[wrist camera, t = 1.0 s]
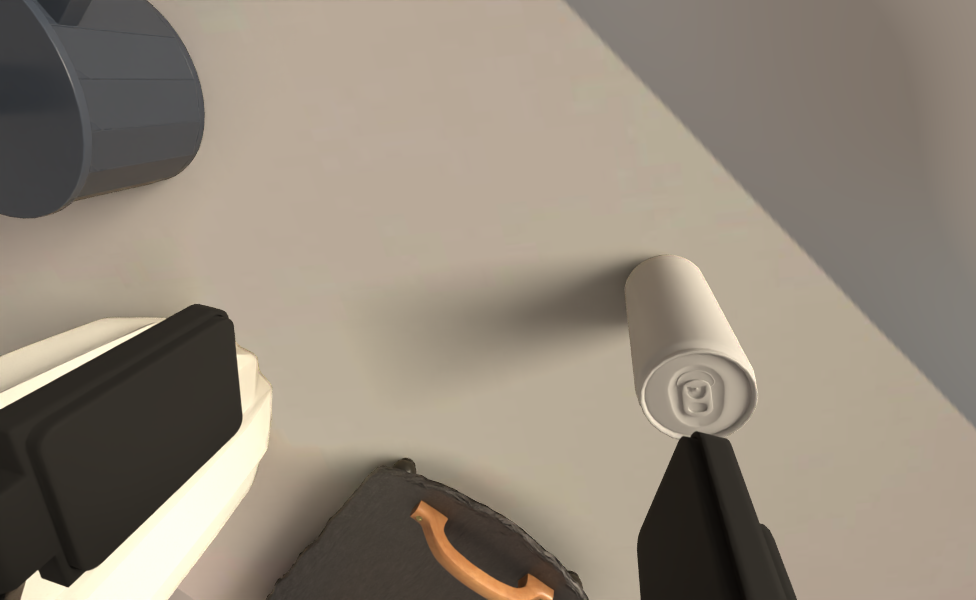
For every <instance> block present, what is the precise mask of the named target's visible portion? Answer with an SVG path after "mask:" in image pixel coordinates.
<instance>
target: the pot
mask: <svg viewBox="0 0 976 600" xmlns="http://www.w3.org/2000/svg"><path fill="white" fill-rule="evenodd" d="M33 1H34V2H35V4H36V5H37V6H38V7H39V8H40V10H41V11H42V12H43V14H44V15H45V17H46V18H47V20H48V21H49V23H50V24H51V25H52V27H53V28H54V30H55V32H56V33H57V35H58V37H59V39H60V40H61V42H62V44H63V45H64V47H65V49H66V51H67V53H68V55H69V57H70V59H71V61H72V63H73V66H74V68H75V70H76V73H77V75H78V78H79V80H80V83H81V86H82V88H83V92H84V95H85V99H86V102H87V106H88V111H89V116H90V122H91V129H92V142H93V143H92V160H91V165H90V171H89V174H88V177H87V180H86V183H85V185H84V187H83V189H82V190H81V192H80V194H79V195H78V196H77V197H76V199H75V200H74V201H77V200H81V199H86V198H90V197H95V196H99V195H104V194H108V193H112V192H117V191H121V190H126V189H130V188H135V187H139V186H143V185H148V184H152V183H155V182H158V181H161V180H165V179H169V178H171V177H173V176H176V175H177V174H179V173H180V172H182V171H183V170H184V169H185V168H186V167H187V166H188V165H189V164H190V163H191V161H192V160H193V158H194V157H195V155H196V153H197V151H198V149H199V146H200V143H201V140H202V136H203V130H204V101H203V95H202V90H201V85H200V82H199V79H198V75H197V72H196V70H195V67H194V64H193V62H192V59H191V57H190V55H189V53H188V51H187V49H186V48H185V46H184V44H183V42H182V41H181V39H180V38H179V36H178V34H177V33H176V32H175V30H174V29H173V28H172V26H171V25H170V24H169V22H168V21H167V20H166V19H165V18H164V17H163V16H162V14H161V13H160V12H159V11H158V10H157V9H156V8H155V7H153V6H152V5H151V4H150V3H149V2H148V1H147V0H33Z"/></svg>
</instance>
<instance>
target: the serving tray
mask: <svg viewBox="0 0 976 600" xmlns="http://www.w3.org/2000/svg"><path fill="white" fill-rule="evenodd" d="M266 600H589V599H588V597H587V595H586V593H585V592H584V591H583V587H582V583H581V581H580V579H579V576H578V575H577V574H576V573H574V572H572V571H567V570H566V568H565V567H564V566H563V565H562V564H561V563H560V562H559V561H558V560H557V558H556V557H555V556H554V555H552V554H551V553H549V552H548V551H546V550H545V549H544V548H543V547H542V546H541V545H539V544H538V543H537V542H536V541H535V540H534V539H533V538H532V537H530V536H529V535H528V534H527V533H526V532H525V531H524V530H523V529H521V528H520V527H519V526H517V525H516V524H515V523H513V522H512V521H510V520H509V519H507V518H506V517H504V516H503V515H501V514H499V513H497V512H495V511H493V510H492V509H490V508H489V507H488V506H486V505H484V504H481V503H479V502H476V501H475V500H473V499H471V498H469V497H467V496H466V495H464V494H462V493H460V492H458V491H457V490H455V489H453V488H450V487H448V486H446V485H443V484H441V483H438V482H435V481H432V480H428V479H427V478H425V477H424V476H422V475H417V474H416V468H415V463H414V462H413V461H412V460H411V459H408V458H404V459H402V460H400V461H398V462H396V463H395V464H394V465H393V467H387V466H380V467H377V468H376V469H375V470H373V471H372V472H371V473H370V474H369V475H368V476H367V477H366V479H365V480H364V481H363V482H362V484H361V485H360V486H359V487H358V488H357V490H356V491H355V492H354V493H353V494H352V496H351V497H350V498H349V499H348V500H347V501H346V502H345V503H344V505H343V506H342V508H341V509H340V510H339V511H338V512H337V513H336V514H335V515H334V516H333V517H331V518H330V519H329V521H328V523H327V525H326V527H325V528H324V530H323V531H322V533H321V534H320V536H319V538H318V539H317V540H315V541H314V542H313V543H311V544H310V545H308V546H307V547H306V548H305V550H304V551H303V552H302V553H300V555H299V557H298V559H297V561H296V562H295V563H294V564H293V565H292V567H291V569H290V570H289V572H287V573H286V574H284V575H283V577H282V578H280V579H278V581H277V582H276V584H275V587H274V589H273V591H272V594H269V595H268V596H267V598H266Z"/></svg>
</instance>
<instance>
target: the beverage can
mask: <svg viewBox="0 0 976 600" xmlns="http://www.w3.org/2000/svg"><path fill="white" fill-rule="evenodd" d="M625 302H626V310H627V319H628V328H629V337H630V346H631V356H632V365H633V374H634V383H635V391H636V395H637V398H638V401H639V404H640V406H641V407H642V410H643V413H644V415H645V416H646V418H647V419H648V420H649V422H650V423H651V424H652V425H653V426H654V427H655V428H657V429H658V430H659V431H660V432H662V433H664V434H666V435H668V436H670V437H672V438H675V439H679V440H680V438H681V437H682V436H686V437H690V436H691V435H692V434H693V433H694V432H695V431H698V432H702V433H706V434H710V435H714V436H718V437H722V438H723V437H726V436H729V435H731V434H732V433H734V432H735V431H737V430H739V429H740V428H742V427H743V426H744V424H745V423H746V422H747V421H748V420H749V419H750V418H751V416H752V414H753V412H754V410H755V408H756V405H757V398H758V392H757V387H756V380H755V375H754V371H753V368H752V367H751V365H750V363H749V361H748V359H747V357H746V355H745V353H744V352H743V350H742V348H741V346H740V344H739V342H738V340H737V338H736V336H735V335H734V333H733V331H732V329H731V327H730V325H729V323H728V321H727V320H726V318H725V316H724V314H723V312H722V310H721V308H720V306H719V305H718V303H717V301H716V299H715V297H714V295H713V293H712V291H711V289H710V288H709V286H708V284H707V282H706V280H705V278H704V276H703V275H702V273H701V271H700V270H699V268H698V267H697V266H695V265H694V264H693V263H692V262H691V261H689V260H687V259H685V258H683V257H679V256H674V255H659V256H656V257H652V258H649V259H647V260H645V261H644V262H642V263H640V264H639V265H638V266H637V267H636V268H635V269H634V270H633V271H632V272H631V274H630V275H629V277H628V278H627V282H626V285H625Z"/></svg>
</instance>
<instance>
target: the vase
mask: <svg viewBox="0 0 976 600" xmlns="http://www.w3.org/2000/svg"><path fill="white" fill-rule="evenodd" d="M165 319H167V318H144V317H106V318H103V319H99V320H96V321H94V322H91V323H88V324H86V325H83V326H80V327H77V328H75V329H72V330H69V331H66V332H64V333H61V334H58V335H55V336H53V337H50V338H47V339H44V340H42V341H39V342H36V343H34V344H31V345H29V346H26V347H23V348H21V349H18V350H16V351H13V352H11V353H8V354H6V355H3V356H1V357H0V409H2V408H4V407H5V406H7V405H9V404H11V403H13V402H15V401H16V400H18V399H20V398H22V397H24V396H26V395H27V394H29V393H31V392H33V391H35V390H37V389H38V388H40V387H42V386H44V385H46V384H48V383H49V382H51V381H53V380H55V379H57V378H59V377H60V376H62V375H64V374H66V373H68V372H70V371H71V370H73V369H75V368H77V367H79V366H81V365H82V364H84V363H86V362H88V361H90V360H92V359H93V358H95V357H97V356H99V355H101V354H103V353H105V352H106V351H108V350H110V349H112V348H114V347H116V346H117V345H119V344H121V343H123V342H125V341H127V340H128V339H130V338H132V337H134V336H136V335H138V334H139V333H141V332H143V331H145V330H147V329H149V328H150V327H152V326H154V325H156V324H158V323H160V322H161V321H163V320H165ZM235 343H236V341H235ZM236 354H237V364H238V374H239V384H240V394H241V404H242V414H243V420H242V424H241V427H240V429H239V430H238V432H237V433H236V434H235V435H234V436H233V437H232V438H231V439H230V440H229V441H228V442H227V443H226V444H225V445H224V446H223V447H222V448H221V449H220V450H219V451H218V452H217V453H216V454H215V455H214V456H213V457H212V458H211V459H210V460H209V461H207V462H206V463H205V464H204V465H203V466H202V467H201V468H200V469H199V470H198V471H197V472H196V473H195V474H194V475H193V476H192V477H191V478H190V479H189V480H188V481H187V482H186V483H185V484H184V485H183V486H182V487H181V488H179V489H178V490H177V491H176V492H175V493H174V494H173V495H172V496H171V497H170V498H169V499H168V500H167V501H166V502H165V503H164V504H163V505H162V506H161V507H160V508H159V509H158V510H157V511H156V512H155V513H154V514H153V515H151V516H150V517H149V518H148V519H147V520H146V521H145V522H144V523H143V524H142V525H141V526H140V527H139V528H138V529H137V530H136V531H135V532H134V533H133V534H132V535H131V536H130V537H129V538H128V539H127V540H126V541H125V542H123V543H122V544H121V545H120V546H119V547H118V548H117V549H116V550H115V551H114V552H113V553H112V554H111V555H110V556H109V557H108V558H107V559H106V560H105V561H104V562H103V563H101V564H100V565H99V566H98V567H96V568H94V569H93V570H89V571H86V572H85V573H84V574H83V575H81V576H80V577H79V578H78V579H77V580H76V581H75V582H74V583H73V584H72V585H71V586H70V587H69V588H68V587H65V586H62V585H59V584H56V583H53V582H51V581H48V580H45V579H42V578H41V576H40V573H39V571H36V572H35V573H34V574H33V575H32V576H31V577H30V578H28V579H27V580H26V583H25V586H24V590H23V593H22V596H21V600H168V599H169V598H170V596H171V595H172V594H173V592H174V591H175V590H176V588H177V587H178V586H179V584H180V583H181V582H182V580H183V579H184V578H185V576H186V575H187V574H188V572H189V571H190V570H191V569H192V567H193V566H194V565H195V563H196V562H197V561H198V559H199V558H200V557H201V555H202V554H203V553H204V551H205V550H206V549H207V547H208V546H209V545H210V543H211V542H212V541H213V539H214V538H215V537H216V535H217V534H218V533H219V531H220V530H221V528H222V527H223V526H224V524H225V523H226V521H227V520H228V519H229V517H230V516H231V514H232V513H233V512H234V510H235V509H236V507H237V506H238V505H239V503H240V502H241V501H242V499H243V498H244V496H245V495H246V494H247V492H248V491H249V489H250V488H251V486H252V484H253V482H254V479H255V475H256V472H257V469H258V465H259V461H260V459H261V458H262V457H263V455H264V454H265V452H266V450H267V447H268V441H269V434H270V427H271V404H272V385H271V383H270V382H269V381H268V380H267V379H266V378H265V377H264V376H263V375H262V374H261V373H260V371H259V365H258V359H257V357H256V355H255V354H254V353H252V352H250V351H247V350H245V349H243V348H241V347H239V345H238V344H237V343H236Z"/></svg>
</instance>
